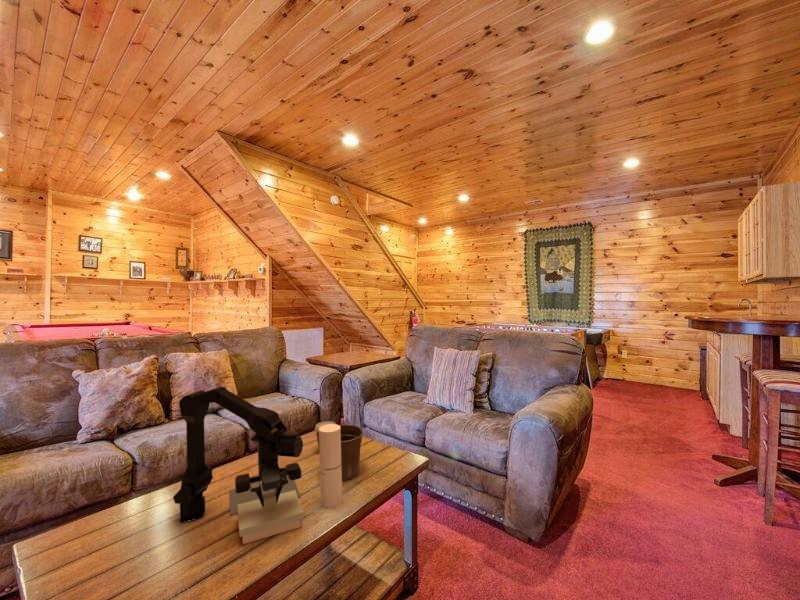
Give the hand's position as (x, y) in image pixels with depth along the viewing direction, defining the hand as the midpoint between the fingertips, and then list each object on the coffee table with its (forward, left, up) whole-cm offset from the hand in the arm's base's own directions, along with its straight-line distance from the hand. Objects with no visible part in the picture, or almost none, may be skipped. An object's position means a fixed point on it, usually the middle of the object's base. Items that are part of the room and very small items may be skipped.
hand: (269, 504), depth 112 cm
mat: (0, +18, -6) cm, 19 cm away
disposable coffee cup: (+28, +41, -6) cm, 50 cm away
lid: (0, 0, -3) cm, 3 cm away
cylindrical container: (+20, +3, -6) cm, 21 cm away
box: (0, 0, -6) cm, 6 cm away
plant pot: (+29, +19, -6) cm, 35 cm away
